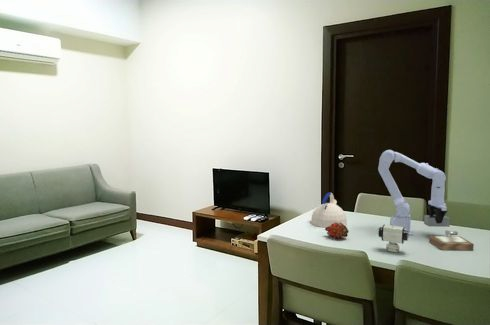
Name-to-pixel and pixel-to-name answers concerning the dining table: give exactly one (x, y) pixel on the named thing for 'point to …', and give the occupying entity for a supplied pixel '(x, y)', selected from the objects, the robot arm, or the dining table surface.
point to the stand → (451, 243)
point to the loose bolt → (450, 232)
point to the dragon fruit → (337, 230)
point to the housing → (431, 221)
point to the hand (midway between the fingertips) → (436, 221)
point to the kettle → (328, 213)
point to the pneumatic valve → (393, 236)
